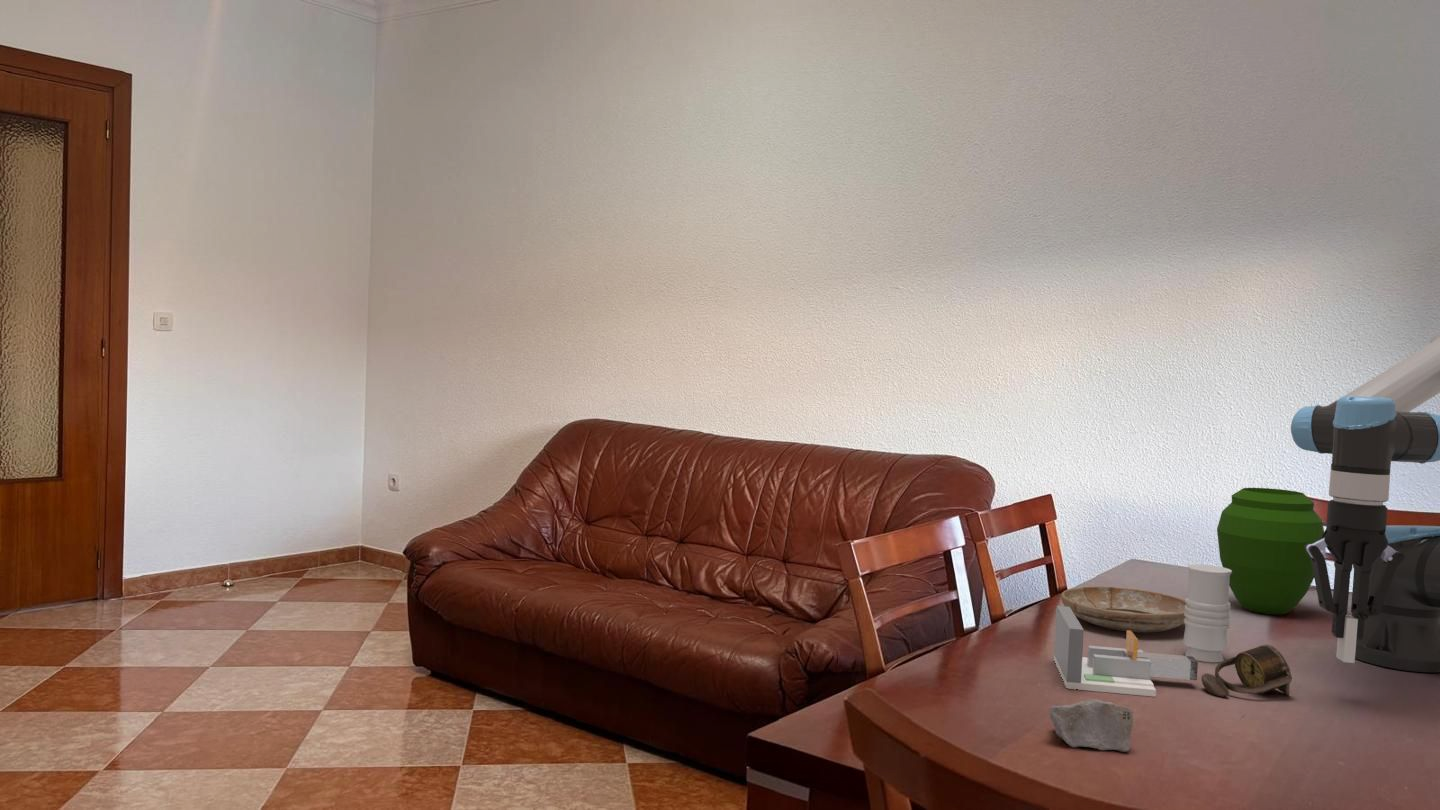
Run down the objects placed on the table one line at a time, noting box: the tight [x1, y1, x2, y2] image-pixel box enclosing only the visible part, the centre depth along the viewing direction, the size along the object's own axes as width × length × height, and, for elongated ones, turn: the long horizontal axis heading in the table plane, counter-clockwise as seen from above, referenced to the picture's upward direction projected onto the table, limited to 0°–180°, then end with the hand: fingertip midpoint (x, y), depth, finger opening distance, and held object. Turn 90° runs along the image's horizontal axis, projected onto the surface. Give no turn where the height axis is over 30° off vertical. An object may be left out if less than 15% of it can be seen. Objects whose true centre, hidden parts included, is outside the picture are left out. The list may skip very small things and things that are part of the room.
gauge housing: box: [1053, 605, 1157, 698], centre depth 161 cm, size 12×15×9 cm
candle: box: [1182, 563, 1232, 663], centre depth 175 cm, size 7×7×15 cm
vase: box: [1216, 487, 1325, 616], centre depth 212 cm, size 20×20×24 cm
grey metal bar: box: [1124, 630, 1199, 681], centre depth 158 cm, size 10×6×6 cm, turn 79°
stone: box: [1049, 698, 1134, 753], centre depth 133 cm, size 8×10×6 cm
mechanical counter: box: [1201, 644, 1293, 698], centre depth 157 cm, size 7×13×10 cm
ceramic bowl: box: [1060, 586, 1187, 633], centre depth 197 cm, size 23×24×5 cm
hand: (1345, 660), depth 155 cm, fingers closed
